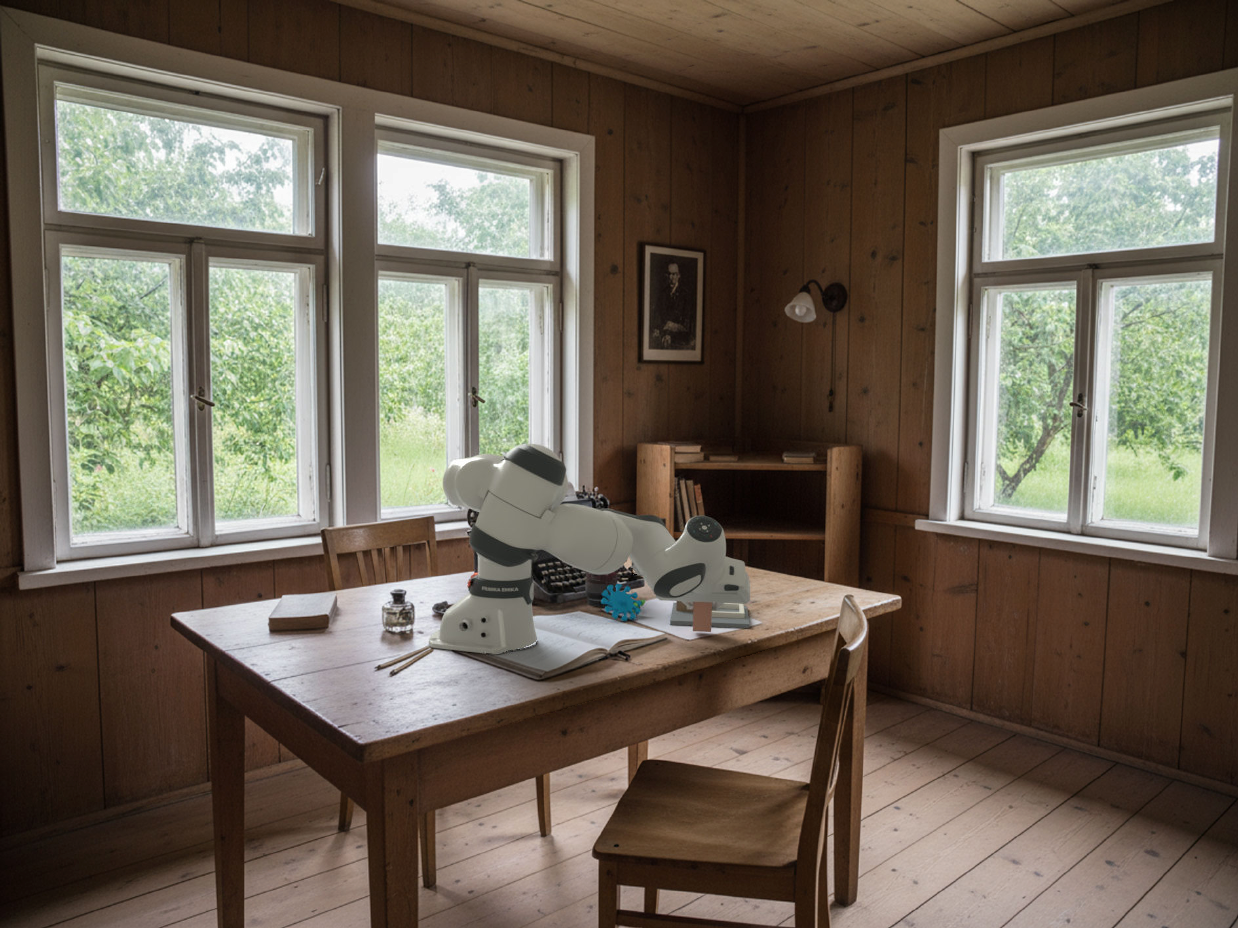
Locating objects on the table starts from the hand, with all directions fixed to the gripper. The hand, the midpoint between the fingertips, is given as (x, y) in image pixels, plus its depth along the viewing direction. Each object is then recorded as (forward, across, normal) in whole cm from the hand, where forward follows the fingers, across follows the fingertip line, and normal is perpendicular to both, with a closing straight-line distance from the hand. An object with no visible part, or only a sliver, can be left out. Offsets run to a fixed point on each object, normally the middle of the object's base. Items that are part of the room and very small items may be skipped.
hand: (702, 607), depth 205 cm
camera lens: (+22, -25, +13) cm, 36 cm away
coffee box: (+51, -16, +41) cm, 67 cm away
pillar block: (+3, 0, -4) cm, 5 cm away
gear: (+13, -19, +4) cm, 23 cm away
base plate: (+16, +2, +7) cm, 17 cm away
